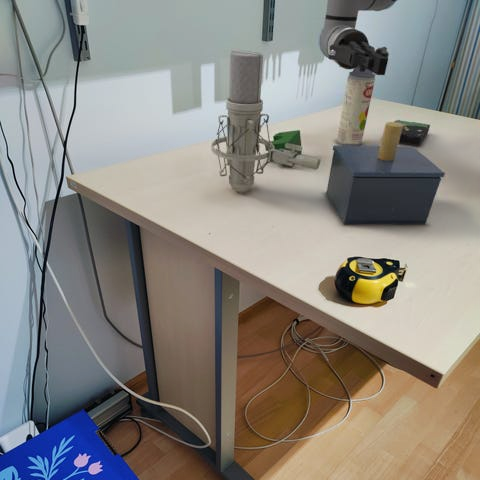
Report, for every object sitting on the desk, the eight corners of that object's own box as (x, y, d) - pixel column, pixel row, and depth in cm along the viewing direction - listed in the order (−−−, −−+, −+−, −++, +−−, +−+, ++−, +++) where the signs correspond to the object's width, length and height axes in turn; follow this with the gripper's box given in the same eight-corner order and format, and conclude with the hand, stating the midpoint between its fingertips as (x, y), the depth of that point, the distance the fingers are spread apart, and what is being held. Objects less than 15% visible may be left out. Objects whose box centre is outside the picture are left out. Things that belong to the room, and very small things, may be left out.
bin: (398, 194, 91) (410, 151, 85) (425, 224, 80) (441, 178, 75) (326, 194, 90) (333, 150, 84) (343, 224, 79) (353, 177, 73)
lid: (411, 150, 85) (422, 114, 81) (443, 177, 74) (457, 137, 70) (332, 149, 84) (338, 112, 80) (353, 176, 73) (361, 135, 69)
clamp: (279, 170, 111) (279, 134, 109) (301, 169, 109) (301, 131, 107) (263, 166, 100) (262, 125, 98) (287, 164, 98) (287, 121, 96)
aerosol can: (356, 148, 114) (374, 63, 102) (332, 143, 117) (347, 59, 104) (364, 142, 119) (382, 59, 106) (341, 137, 121) (356, 56, 109)
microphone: (298, 221, 80) (319, 69, 64) (199, 193, 87) (196, 52, 72) (322, 198, 88) (346, 59, 72) (230, 175, 96) (233, 45, 80)
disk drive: (420, 147, 117) (427, 133, 128) (423, 137, 116) (430, 123, 126) (382, 141, 121) (393, 128, 131) (385, 130, 119) (395, 118, 129)
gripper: (371, 67, 100) (410, 90, 82) (317, 65, 99) (344, 88, 81) (379, 29, 95) (422, 44, 77) (323, 27, 94) (353, 41, 76)
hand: (382, 66), depth 79 cm, fingers closed
